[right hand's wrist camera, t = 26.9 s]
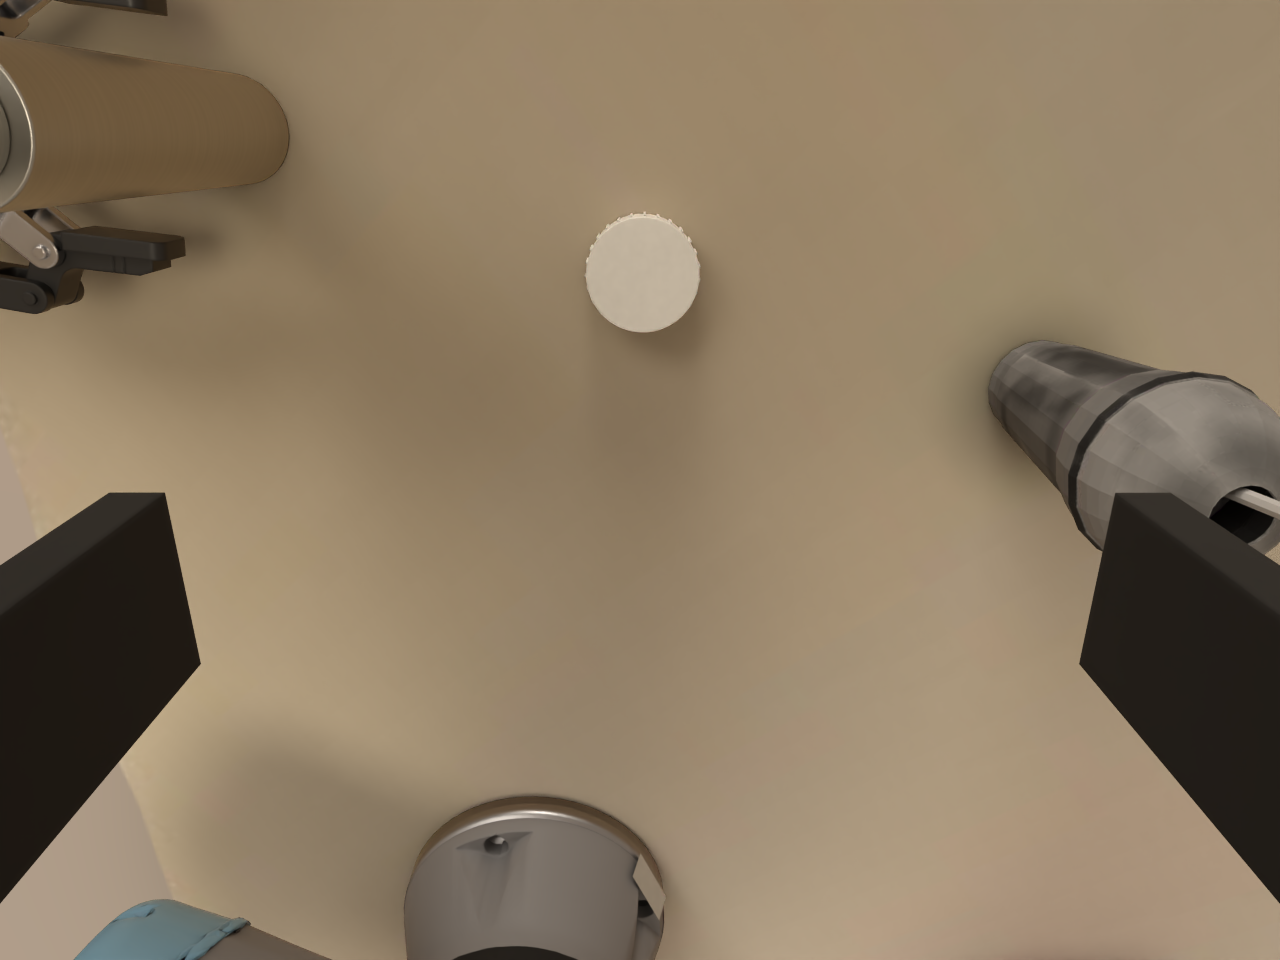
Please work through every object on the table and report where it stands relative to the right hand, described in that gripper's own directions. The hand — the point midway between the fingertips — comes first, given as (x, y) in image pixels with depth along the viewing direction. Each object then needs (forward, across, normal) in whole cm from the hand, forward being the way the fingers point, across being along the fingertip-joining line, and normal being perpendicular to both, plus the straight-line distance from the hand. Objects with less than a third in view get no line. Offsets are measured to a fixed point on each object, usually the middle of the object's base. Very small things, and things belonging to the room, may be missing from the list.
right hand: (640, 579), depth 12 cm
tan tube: (+30, +17, -6) cm, 35 cm away
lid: (+28, 0, 0) cm, 28 cm away
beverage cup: (+30, -19, +5) cm, 36 cm away
